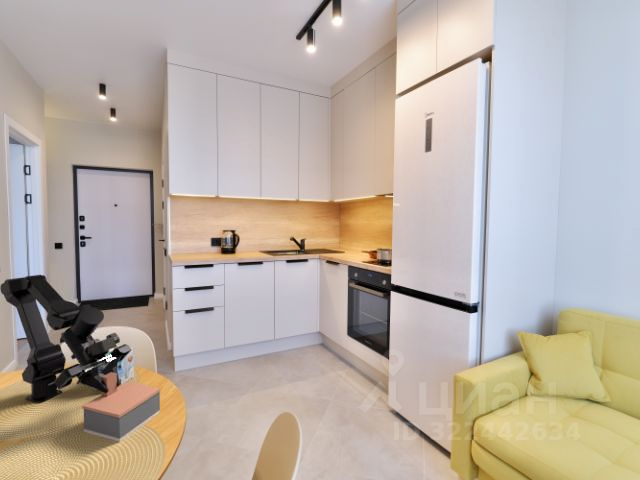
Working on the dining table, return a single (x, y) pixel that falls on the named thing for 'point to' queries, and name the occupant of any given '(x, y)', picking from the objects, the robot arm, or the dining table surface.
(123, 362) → the light bulb box
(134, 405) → the lid
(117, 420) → the carton
